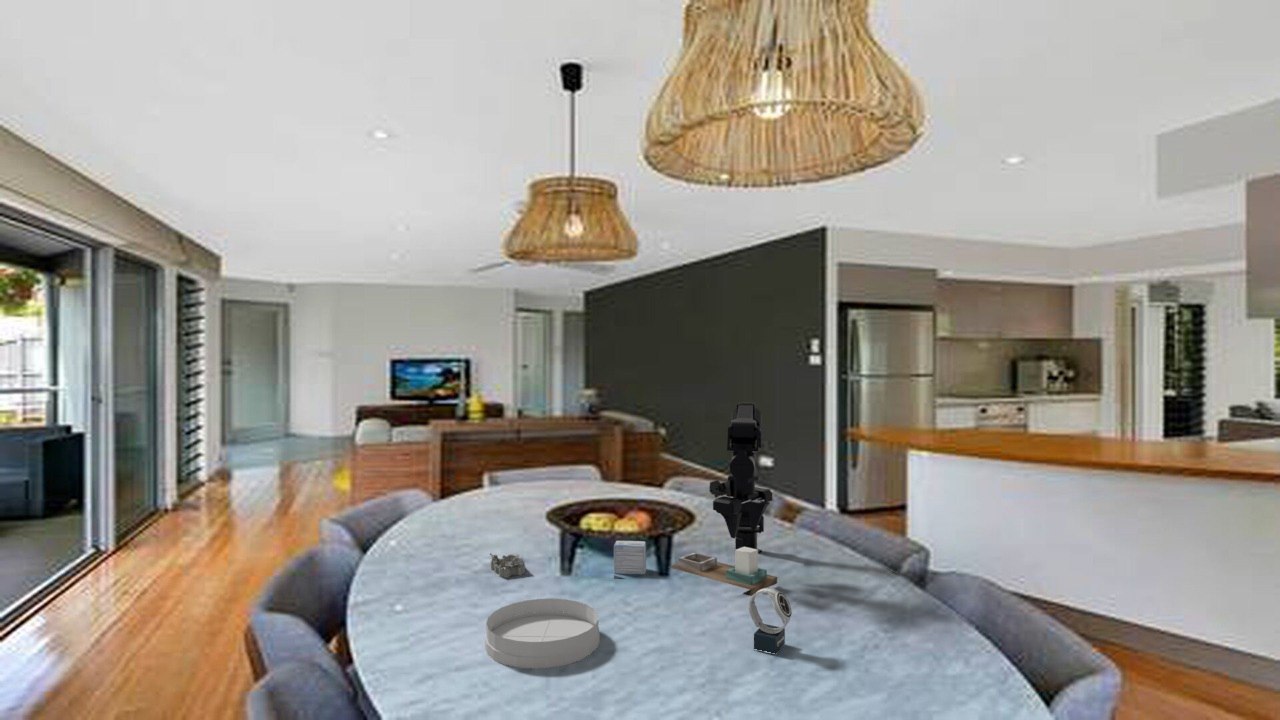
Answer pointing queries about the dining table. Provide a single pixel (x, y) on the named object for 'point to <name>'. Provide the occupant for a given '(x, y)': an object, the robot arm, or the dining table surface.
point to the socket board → (724, 572)
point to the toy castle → (508, 565)
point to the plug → (746, 560)
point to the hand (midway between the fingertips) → (743, 533)
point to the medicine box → (629, 557)
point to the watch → (770, 635)
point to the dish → (542, 633)
